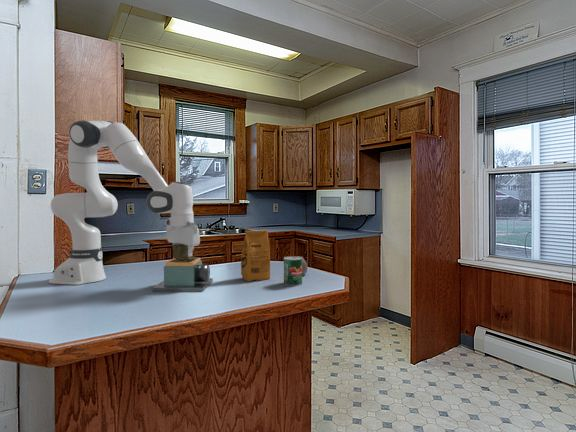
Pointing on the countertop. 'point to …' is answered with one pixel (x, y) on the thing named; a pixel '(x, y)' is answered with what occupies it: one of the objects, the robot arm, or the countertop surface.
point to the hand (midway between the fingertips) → (183, 255)
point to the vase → (303, 266)
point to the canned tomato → (292, 271)
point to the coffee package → (255, 256)
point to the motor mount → (184, 276)
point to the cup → (180, 252)
